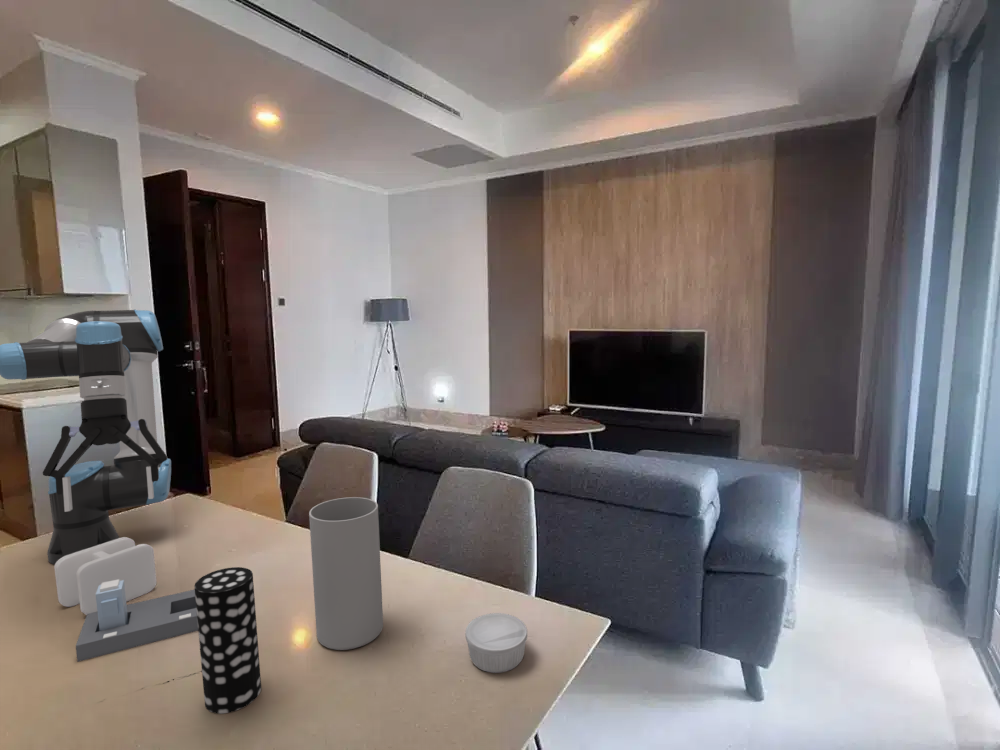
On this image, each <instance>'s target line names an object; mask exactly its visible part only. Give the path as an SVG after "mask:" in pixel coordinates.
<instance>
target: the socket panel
mask: <svg viewBox="0 0 1000 750" xmlns="http://www.w3.org/2000/svg"><path fill="white" fill-rule="evenodd" d="M127 614H128V623H129V624H128V625H123V626H119V627H115V628H111V629H107V630H103V631H100V629H99V620H98V612H93V613H89V614H87V615H86V616H85V619H84V622H83V625H82V627H81V630H80V633H79V636H78V639H77V641H76V644H75V653H76V661H77V663H78V662H82V661H86V660H89V659H94V658H98V657H101V656H105V655H106V656H107V655H109V654H112V653H116V652H117V653H118V652H121V651H126V650H129V649H131V648H136V647H140V646H144V645H148V644H151V643H155V642H159V641H163V640H167V639H171V638H175V637H179V636H182V635H186V634H190V633H193V632H198V621H197V610H196V599H195V588H194V589H190V590H186V591H182V592H177V593H173V594H168V595H164V596H160V597H156V598H152V599H151V598H150V599H147V600H142V601H138V602H134V603H128V604H127Z"/></svg>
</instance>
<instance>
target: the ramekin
mask: <svg viewBox="0 0 1000 750" xmlns="http://www.w3.org/2000/svg"><path fill="white" fill-rule="evenodd" d="M464 631H465V633H464V635H465V640H466V643H467V648H468V652H469V653H468V654H469V658H470V660H471V662H472V663H473V664H474V666H475V667H477V668H478V669H479V670H481V671H484V672H487V673H491V674H493V673H494V674H500V673H506V672H509V671H512V670H513V669H515V668H516V667H517V666H518V665H519V664H520V663H521V662H522V660H523V658H524V656H525V649H526V642H527V640H528V628H527V626H526V624H525V623H524V622H523V620H521V619H520V618H518V617H517V616H514V615H512V614H509V613H501V612H493V613H487V614H482V615H480V616H477V617H475V618H474V619H472V620H471V621H470V622H469V623H468V624H467V626H466V628H465V630H464Z"/></svg>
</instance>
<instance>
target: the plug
mask: <svg viewBox="0 0 1000 750" xmlns="http://www.w3.org/2000/svg"><path fill="white" fill-rule="evenodd" d="M96 603H97V611H98V620H99V629H100V631H103V630H107V629H111V628H115V627H119V626H123V625H128V624H129V623H128V614H127V605H128V604H127V602H126V595H125V585H124V580H122V581H120V579H118V580H113V581H108V582H104V583H102V584H101V585H99V586H98V589H97V592H96Z"/></svg>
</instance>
